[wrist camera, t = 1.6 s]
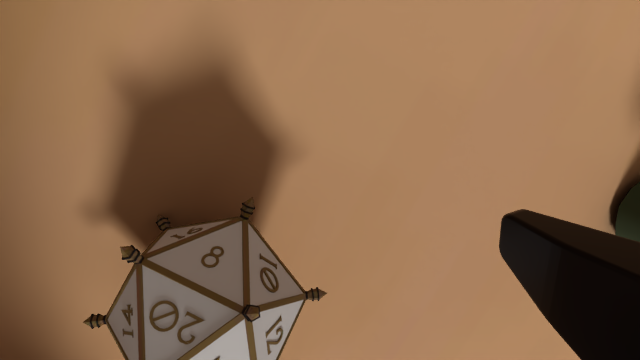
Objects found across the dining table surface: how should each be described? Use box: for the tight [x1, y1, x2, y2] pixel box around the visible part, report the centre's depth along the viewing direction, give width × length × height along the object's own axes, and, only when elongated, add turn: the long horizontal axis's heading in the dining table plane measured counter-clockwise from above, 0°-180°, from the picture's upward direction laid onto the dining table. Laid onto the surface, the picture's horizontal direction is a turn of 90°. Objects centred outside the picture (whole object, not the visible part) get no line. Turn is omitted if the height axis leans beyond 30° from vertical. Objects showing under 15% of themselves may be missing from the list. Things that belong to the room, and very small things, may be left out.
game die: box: [83, 197, 327, 360], centre depth 18 cm, size 9×8×10 cm
